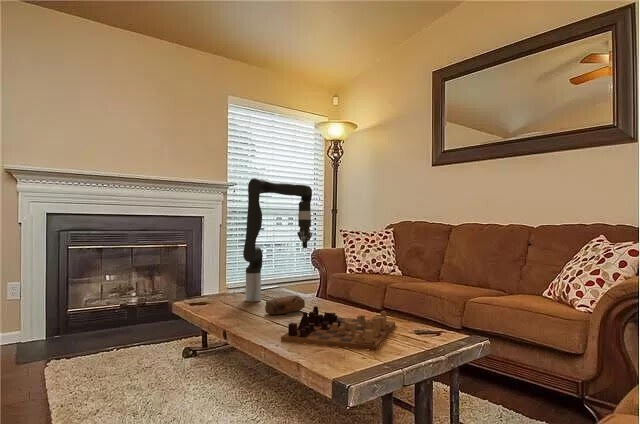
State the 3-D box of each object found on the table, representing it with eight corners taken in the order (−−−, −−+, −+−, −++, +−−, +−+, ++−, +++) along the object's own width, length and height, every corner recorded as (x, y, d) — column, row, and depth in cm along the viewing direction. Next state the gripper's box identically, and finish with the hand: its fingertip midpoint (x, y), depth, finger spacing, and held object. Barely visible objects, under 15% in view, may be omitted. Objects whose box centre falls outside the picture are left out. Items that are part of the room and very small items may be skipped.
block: (294, 307, 241) (263, 313, 229) (294, 293, 241) (263, 299, 229) (306, 311, 233) (274, 317, 220) (306, 297, 232) (274, 302, 220)
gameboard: (376, 352, 164) (376, 328, 164) (281, 342, 178) (281, 320, 178) (395, 327, 201) (395, 307, 202) (315, 320, 215) (315, 302, 215)
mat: (268, 308, 242) (268, 307, 242) (280, 306, 246) (280, 305, 246) (288, 314, 226) (288, 313, 226) (300, 312, 230) (300, 311, 230)
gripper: (293, 218, 257) (293, 247, 257) (306, 218, 246) (306, 249, 246) (303, 218, 261) (303, 247, 261) (316, 218, 251) (316, 248, 251)
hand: (304, 248), depth 254 cm, fingers closed
